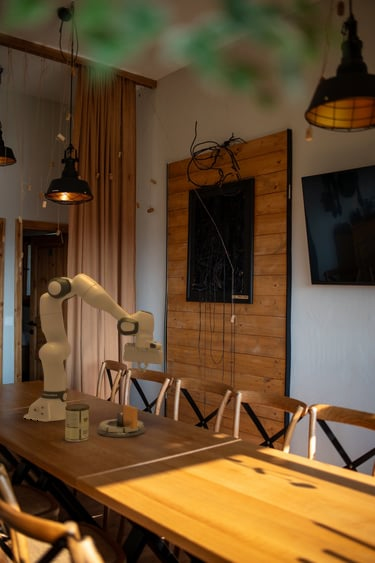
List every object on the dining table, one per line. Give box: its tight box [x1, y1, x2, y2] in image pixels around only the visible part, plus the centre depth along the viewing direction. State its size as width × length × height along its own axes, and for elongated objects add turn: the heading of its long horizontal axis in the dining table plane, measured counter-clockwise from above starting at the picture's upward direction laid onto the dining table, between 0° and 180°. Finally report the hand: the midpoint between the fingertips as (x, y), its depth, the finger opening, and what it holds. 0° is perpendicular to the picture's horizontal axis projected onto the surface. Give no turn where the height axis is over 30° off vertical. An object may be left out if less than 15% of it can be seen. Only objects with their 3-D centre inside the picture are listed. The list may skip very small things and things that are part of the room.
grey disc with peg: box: [96, 411, 146, 439], centre depth 248 cm, size 22×22×8 cm
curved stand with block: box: [98, 404, 144, 433], centre depth 247 cm, size 22×19×11 cm
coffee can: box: [64, 403, 90, 443], centre depth 235 cm, size 10×10×14 cm
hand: (142, 372), depth 264 cm, fingers closed
